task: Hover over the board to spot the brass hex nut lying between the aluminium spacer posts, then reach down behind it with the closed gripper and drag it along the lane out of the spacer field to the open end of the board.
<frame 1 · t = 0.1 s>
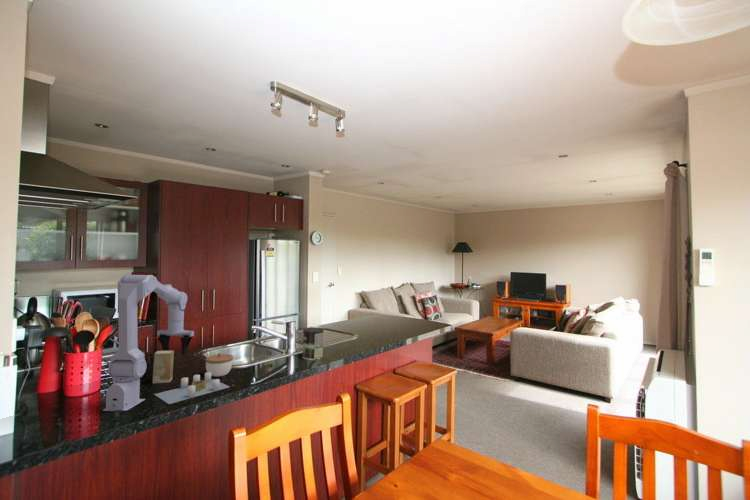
hand: (175, 353, 151), 10 cm above the counter, tool pointing down, fingers open, 7 cm apart
nut: (198, 388, 137), point 1 cm above the counter, touching board
board: (193, 392, 136), on the counter
coffee can: (312, 357, 185), on the counter
lidded jar: (218, 376, 155), on the counter
skincare box: (162, 382, 145), on the counter
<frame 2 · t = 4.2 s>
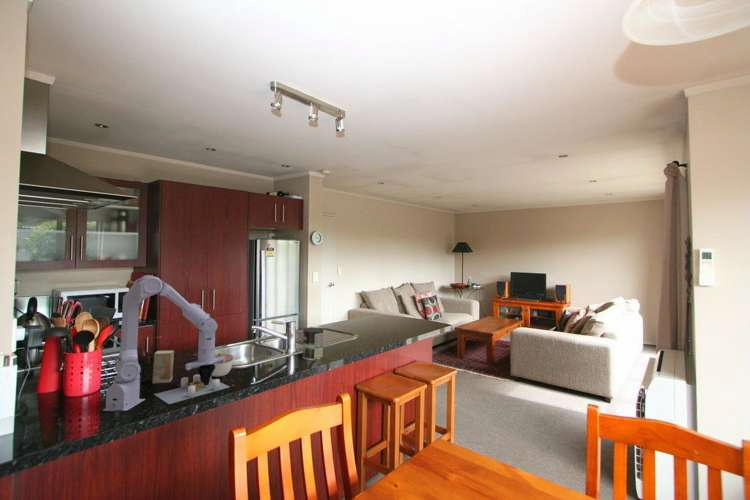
hand: (205, 384, 139), 2 cm above the counter, tool pointing down, fingers closed
nut: (196, 389, 137), point 1 cm above the counter, touching board, gripper
everything else where it was.
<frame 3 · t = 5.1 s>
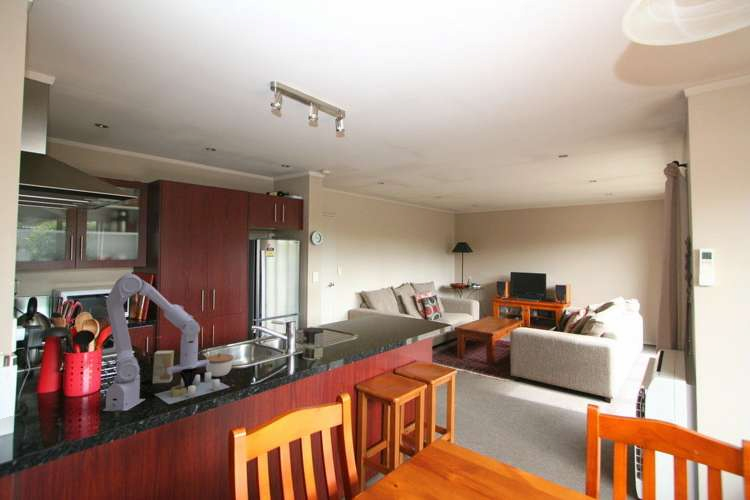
hand: (188, 389, 134), 2 cm above the counter, tool pointing down, fingers closed
nut: (178, 394, 132), point 1 cm above the counter, touching gripper
everything else where it was.
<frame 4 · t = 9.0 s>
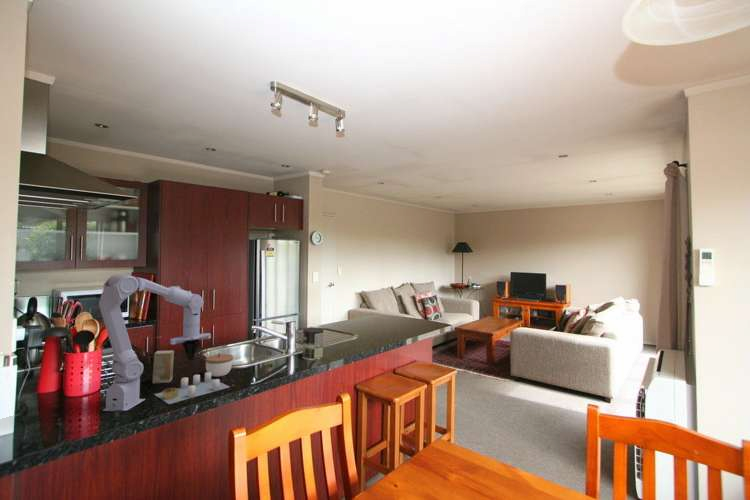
hand: (190, 359, 141), 10 cm above the counter, tool pointing down, fingers closed
nut: (170, 397, 129), point 1 cm above the counter, touching board
everything else where it was.
at the end: nut inside the target area (0.3 cm from its centre), point 0.6 cm above the counter; nut moved 10.3 cm from its start; nut point 0.6 cm above the counter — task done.
